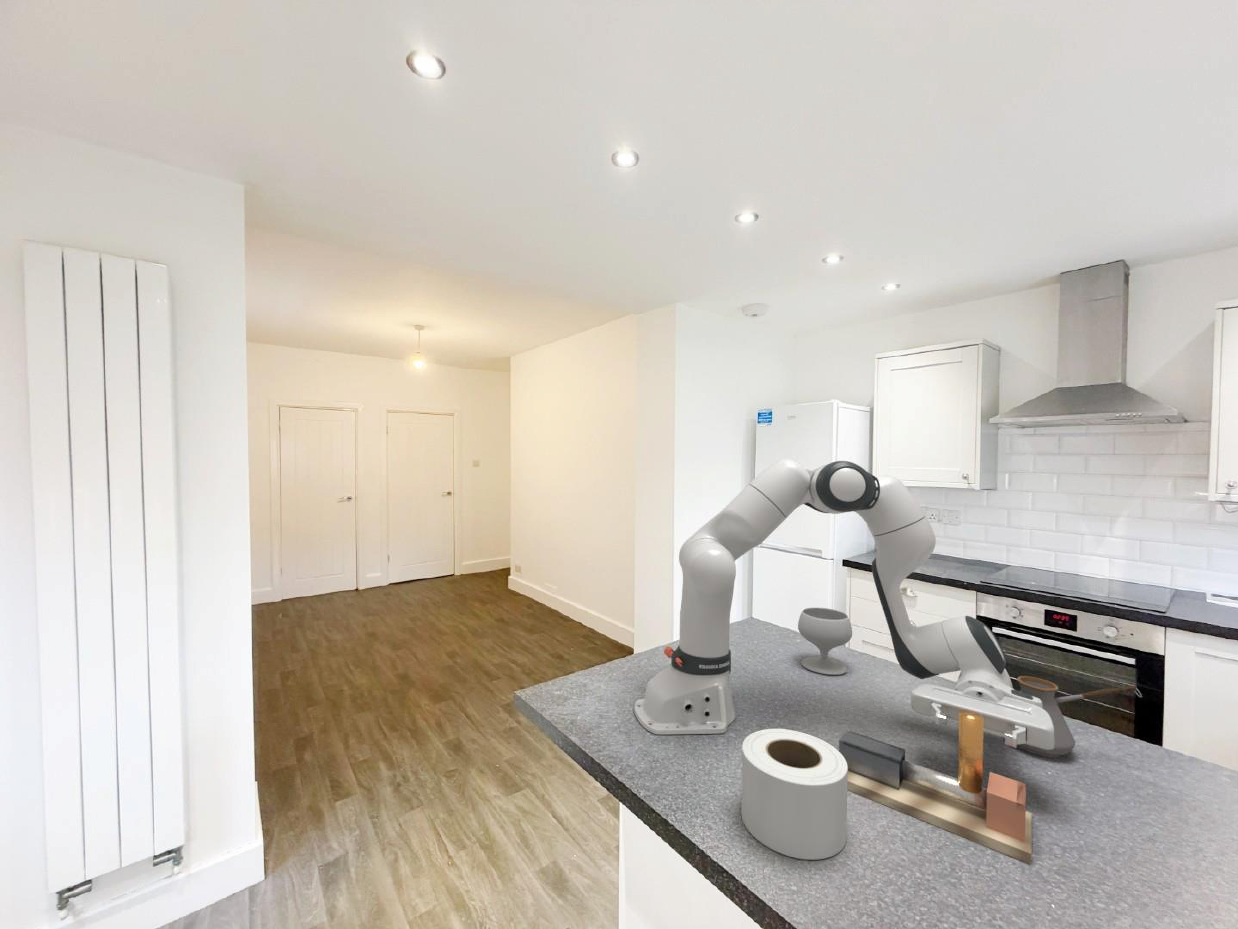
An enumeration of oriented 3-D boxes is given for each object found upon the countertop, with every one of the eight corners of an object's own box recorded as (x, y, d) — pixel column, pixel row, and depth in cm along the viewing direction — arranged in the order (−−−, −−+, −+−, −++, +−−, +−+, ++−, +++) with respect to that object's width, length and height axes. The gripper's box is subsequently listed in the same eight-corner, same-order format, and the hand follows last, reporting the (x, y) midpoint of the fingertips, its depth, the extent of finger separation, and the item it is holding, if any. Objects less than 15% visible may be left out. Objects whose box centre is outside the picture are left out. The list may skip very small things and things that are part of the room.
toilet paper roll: (755, 779, 88) (756, 718, 88) (851, 811, 80) (852, 744, 80) (728, 834, 74) (729, 762, 74) (840, 879, 66) (841, 798, 66)
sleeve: (838, 767, 89) (839, 740, 89) (846, 755, 93) (846, 730, 93) (898, 790, 83) (899, 761, 83) (904, 777, 86) (905, 749, 86)
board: (830, 782, 87) (830, 774, 87) (848, 755, 95) (848, 747, 95) (1031, 864, 69) (1031, 854, 69) (1031, 822, 78) (1031, 813, 78)
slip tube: (893, 780, 84) (894, 697, 84) (897, 771, 86) (898, 691, 86) (1009, 824, 74) (1011, 730, 74) (1010, 812, 76) (1011, 722, 77)
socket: (986, 827, 74) (986, 792, 74) (989, 805, 79) (989, 772, 80) (1024, 842, 72) (1025, 805, 72) (1025, 818, 77) (1026, 783, 77)
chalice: (788, 658, 144) (789, 606, 144) (834, 657, 146) (834, 606, 146) (812, 678, 130) (813, 621, 130) (862, 677, 132) (863, 620, 132)
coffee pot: (1010, 754, 97) (1011, 677, 97) (993, 726, 107) (994, 657, 107) (1158, 784, 88) (1159, 699, 88) (1123, 750, 99) (1124, 675, 99)
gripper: (917, 669, 99) (903, 692, 88) (1053, 701, 86) (1055, 733, 75) (916, 701, 99) (902, 728, 88) (1052, 738, 86) (1055, 775, 75)
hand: (974, 731), depth 82 cm, fingers open, 8 cm apart
